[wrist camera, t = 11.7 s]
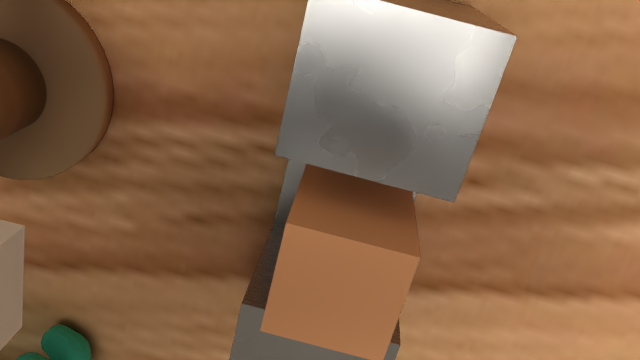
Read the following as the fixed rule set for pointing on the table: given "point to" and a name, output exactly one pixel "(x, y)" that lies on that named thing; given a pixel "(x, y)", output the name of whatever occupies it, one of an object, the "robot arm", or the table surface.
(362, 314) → the orange brown block
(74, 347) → the toy
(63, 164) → the bobbin
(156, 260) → the table surface
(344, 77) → the metal block
